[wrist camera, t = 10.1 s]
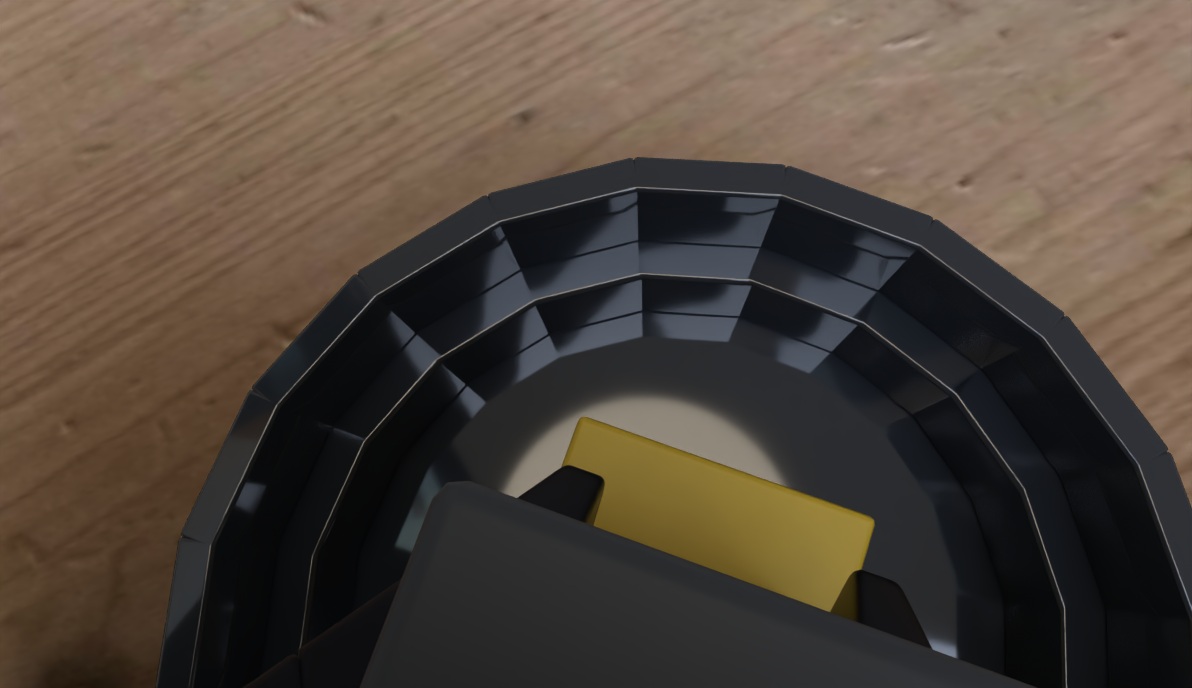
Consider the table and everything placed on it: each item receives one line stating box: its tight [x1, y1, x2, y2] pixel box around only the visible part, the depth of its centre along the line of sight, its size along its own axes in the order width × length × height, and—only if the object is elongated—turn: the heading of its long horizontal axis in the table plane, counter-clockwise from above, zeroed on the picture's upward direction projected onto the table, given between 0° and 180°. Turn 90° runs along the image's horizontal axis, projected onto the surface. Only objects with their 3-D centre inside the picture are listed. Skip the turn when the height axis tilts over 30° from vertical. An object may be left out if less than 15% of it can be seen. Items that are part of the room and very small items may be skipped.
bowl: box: [155, 157, 1192, 688], centre depth 14 cm, size 13×13×5 cm
